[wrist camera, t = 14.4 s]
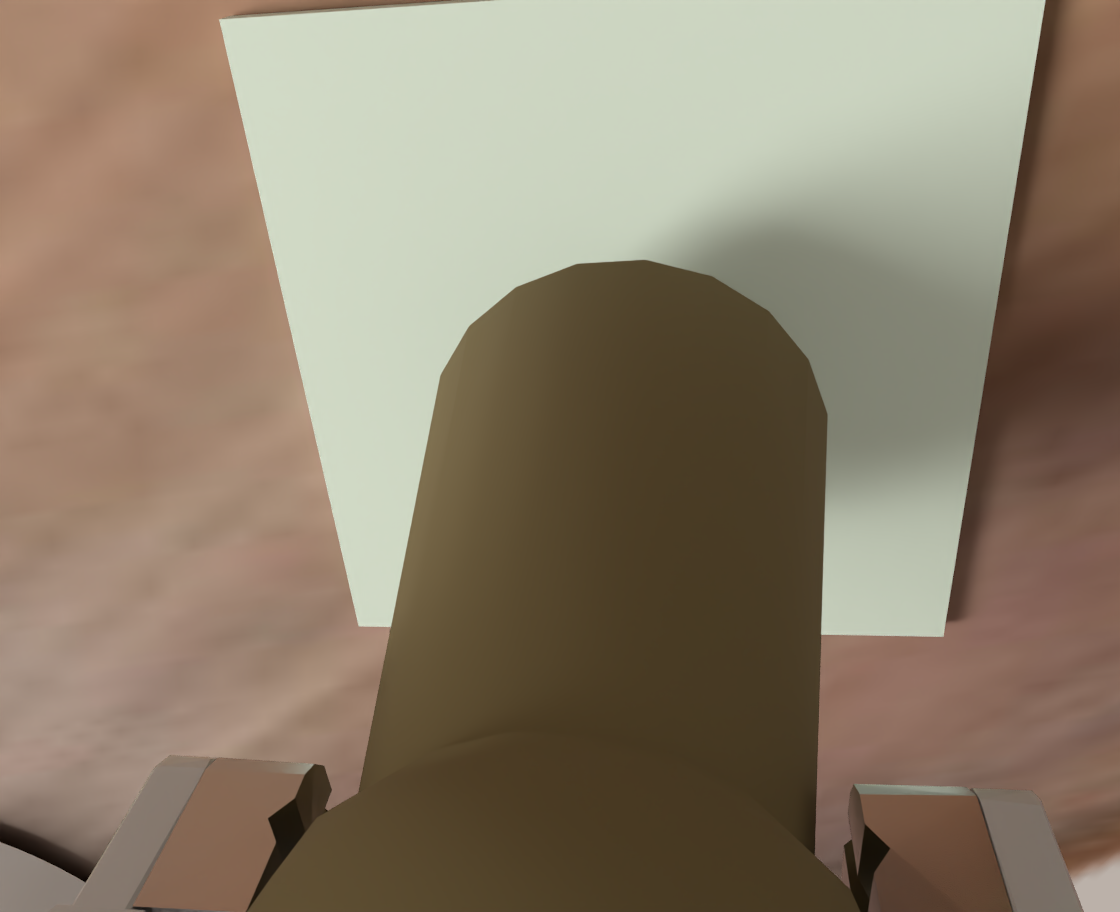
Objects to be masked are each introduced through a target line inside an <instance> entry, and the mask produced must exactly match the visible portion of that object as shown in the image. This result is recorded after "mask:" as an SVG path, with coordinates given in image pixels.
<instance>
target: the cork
mask: <svg viewBox="0 0 1120 912" xmlns="http://www.w3.org/2000/svg"><path fill="white" fill-rule="evenodd" d="M827 421H828V414H827V411H826V408H825V405H824V402H823V399H822V396H821V394H820V391H819V388H818V385H817V382H816V379H815V376H814V373H813V370H812V368H811V365H810V362H809V359H808V358H807V357H806V356H805V354H804V353H803V352H802V351H801V349H800V348H799V347H798V346H797V345H796V343H795V342H794V341H793V340H792V339H791V337H790V336H789V335H788V334H787V332H786V331H785V330H784V329H783V328H782V326H781V325H780V324H779V323H778V321H777V320H776V319H775V318H774V317H773V315H772V314H771V313H770V312H769V311H768V310H766V309H765V308H763V307H761V306H760V305H758V304H757V303H755V302H753V301H752V300H750V299H748V298H747V297H745V296H744V295H742V294H740V293H739V292H737V291H735V290H734V289H732V288H731V287H729V286H727V285H726V284H724V283H722V282H721V281H719V280H718V279H716V278H714V277H713V276H709V275H705V274H701V273H697V272H693V271H689V270H685V269H681V268H677V267H673V266H669V265H665V264H661V263H657V262H653V261H649V260H631V261H614V262H597V263H580V264H575V265H572V266H570V267H567V268H565V269H562V270H559V271H557V272H554V273H552V274H549V275H546V276H544V277H541V278H538V279H536V280H533V281H531V282H528V283H525V284H523V285H520V286H518V287H515V288H514V289H513V290H512V291H511V292H509V293H508V294H507V295H506V296H505V297H503V298H502V299H501V300H500V301H499V302H497V303H496V304H495V305H494V306H493V307H491V308H490V309H489V310H488V311H487V312H485V313H484V314H483V315H482V316H481V317H479V318H478V319H477V320H476V321H475V322H473V323H472V324H471V325H470V326H469V327H468V329H467V330H466V332H465V334H464V335H463V337H462V339H461V341H460V342H459V344H458V346H457V347H456V349H455V351H454V353H453V354H452V356H451V358H450V359H449V361H448V363H447V365H446V366H445V368H444V370H443V371H442V373H441V375H440V379H439V385H438V390H437V395H436V400H435V405H434V410H433V415H432V420H431V425H430V430H429V436H428V441H427V446H426V451H425V456H424V461H423V466H422V471H421V476H420V481H419V487H418V492H417V497H416V502H415V507H414V512H413V517H412V522H411V527H410V532H409V538H408V543H407V548H406V553H405V558H404V563H403V568H402V573H401V578H400V583H399V588H398V594H397V599H396V604H395V609H394V614H393V619H392V624H391V629H390V634H389V639H388V645H387V650H386V655H385V660H384V665H383V670H382V675H381V680H380V685H379V690H378V696H377V701H376V706H375V711H374V716H373V721H372V726H371V731H370V736H369V741H368V747H367V752H366V757H365V762H364V767H363V772H362V777H361V782H360V787H359V792H358V794H356V795H354V796H353V797H351V798H349V799H348V800H346V801H344V802H343V803H341V804H339V805H337V806H336V807H334V808H332V809H331V810H329V811H327V812H326V813H324V814H322V815H320V816H319V817H317V818H316V819H315V821H314V822H313V823H312V824H311V826H310V827H309V828H308V830H307V831H306V832H305V834H304V835H303V836H302V838H301V839H300V840H299V842H298V843H297V844H296V846H295V847H294V848H293V849H292V851H291V852H290V853H289V855H288V856H287V857H286V859H285V860H284V861H283V863H282V864H281V865H280V867H279V868H278V869H277V871H276V872H275V873H274V874H273V876H272V877H271V878H270V880H269V881H268V883H267V884H266V886H265V887H264V888H263V890H262V891H261V893H260V894H259V895H258V897H257V898H256V900H255V901H254V902H253V904H252V905H251V907H250V908H249V910H248V911H247V912H860V910H859V908H858V905H857V903H856V901H855V899H854V897H853V894H852V892H851V890H850V889H849V888H848V887H847V886H846V885H845V884H844V883H843V882H842V881H841V880H840V879H839V878H838V877H837V876H836V875H834V874H833V873H832V872H831V871H830V870H829V869H828V868H827V867H826V866H825V865H824V864H823V863H822V862H821V861H820V860H819V859H818V858H816V857H815V823H816V790H817V756H818V723H819V689H820V656H821V622H822V589H823V555H824V522H825V488H826V455H827Z"/></svg>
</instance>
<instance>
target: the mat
mask: <svg viewBox="0 0 1120 912" xmlns="http://www.w3.org/2000/svg"><path fill="white" fill-rule="evenodd" d="M1044 7H1045V0H452V1H438V2H423V3H409V4H395V5H380V6H366V7H352V8H337V9H323V10H309V11H294V12H280V13H266V14H251V15H237V16H228V17H225V18H222V19H219V20H220V25H221V29H222V33H223V38H224V42H225V47H226V51H227V55H228V60H229V64H230V68H231V73H232V77H233V81H234V86H235V90H236V94H237V99H238V103H239V107H240V112H241V116H242V120H243V125H244V129H245V133H246V138H247V142H248V147H249V151H250V155H251V160H252V164H253V168H254V173H255V177H256V181H257V186H258V190H259V194H260V199H261V203H262V207H263V212H264V216H265V220H266V225H267V229H268V233H269V238H270V242H271V247H272V251H273V255H274V260H275V264H276V268H277V273H278V277H279V281H280V286H281V290H282V294H283V299H284V303H285V307H286V312H287V316H288V320H289V325H290V329H291V334H292V338H293V342H294V347H295V351H296V355H297V360H298V364H299V368H300V373H301V377H302V381H303V386H304V390H305V394H306V399H307V403H308V407H309V412H310V416H311V420H312V425H313V429H314V434H315V438H316V442H317V447H318V451H319V455H320V460H321V464H322V468H323V473H324V477H325V481H326V486H327V490H328V494H329V499H330V503H331V507H332V512H333V516H334V520H335V525H336V529H337V534H338V538H339V542H340V547H341V551H342V555H343V560H344V564H345V568H346V573H347V577H348V581H349V586H350V590H351V594H352V599H353V603H354V607H355V612H356V616H357V620H358V625H359V626H372V627H391V624H392V619H393V614H394V609H395V604H396V599H397V594H398V588H399V583H400V578H401V573H402V568H403V563H404V558H405V553H406V548H407V543H408V538H409V532H410V527H411V522H412V517H413V512H414V507H415V502H416V497H417V492H418V487H419V481H420V476H421V471H422V466H423V461H424V456H425V451H426V446H427V441H428V436H429V430H430V425H431V420H432V415H433V410H434V405H435V400H436V395H437V390H438V385H439V379H440V375H441V373H442V371H443V370H444V368H445V366H446V365H447V363H448V361H449V359H450V358H451V356H452V354H453V353H454V351H455V349H456V347H457V346H458V344H459V342H460V341H461V339H462V337H463V335H464V334H465V332H466V330H467V329H468V327H469V326H470V325H471V324H472V323H473V322H475V321H476V320H477V319H478V318H479V317H481V316H482V315H483V314H484V313H485V312H487V311H488V310H489V309H490V308H491V307H493V306H494V305H495V304H496V303H497V302H499V301H500V300H501V299H502V298H503V297H505V296H506V295H507V294H508V293H509V292H511V291H512V290H513V289H514V288H515V287H518V286H520V285H523V284H525V283H528V282H531V281H533V280H536V279H538V278H541V277H544V276H546V275H549V274H552V273H554V272H557V271H559V270H562V269H565V268H567V267H570V266H572V265H575V264H580V263H597V262H614V261H631V260H649V261H653V262H657V263H661V264H665V265H669V266H673V267H677V268H681V269H685V270H689V271H693V272H697V273H701V274H705V275H709V276H713V277H714V278H716V279H718V280H719V281H721V282H722V283H724V284H726V285H727V286H729V287H731V288H732V289H734V290H735V291H737V292H739V293H740V294H742V295H744V296H745V297H747V298H748V299H750V300H752V301H753V302H755V303H757V304H758V305H760V306H761V307H763V308H765V309H766V310H768V311H769V312H770V313H771V314H772V315H773V317H774V318H775V319H776V320H777V321H778V323H779V324H780V325H781V326H782V328H783V329H784V330H785V331H786V332H787V334H788V335H789V336H790V337H791V339H792V340H793V341H794V342H795V343H796V345H797V346H798V347H799V348H800V349H801V351H802V352H803V353H804V354H805V356H806V357H807V358H808V359H809V362H810V365H811V368H812V370H813V373H814V376H815V379H816V382H817V385H818V388H819V391H820V394H821V396H822V399H823V402H824V405H825V408H826V411H827V414H828V421H827V455H826V488H825V522H824V555H823V589H822V622H821V635H875V636H931V637H943V636H944V630H945V623H946V617H947V611H948V605H949V598H950V592H951V586H952V580H953V574H954V567H955V561H956V555H957V549H958V542H959V536H960V530H961V524H962V517H963V511H964V505H965V499H966V493H967V486H968V480H969V474H970V468H971V461H972V455H973V449H974V443H975V436H976V430H977V424H978V418H979V412H980V405H981V399H982V393H983V387H984V380H985V374H986V368H987V362H988V355H989V349H990V343H991V337H992V331H993V324H994V318H995V312H996V306H997V299H998V293H999V287H1000V281H1001V274H1002V268H1003V262H1004V256H1005V250H1006V243H1007V237H1008V231H1009V225H1010V218H1011V212H1012V206H1013V200H1014V193H1015V187H1016V181H1017V175H1018V169H1019V162H1020V156H1021V150H1022V144H1023V137H1024V131H1025V125H1026V119H1027V112H1028V106H1029V100H1030V94H1031V88H1032V81H1033V75H1034V69H1035V63H1036V56H1037V50H1038V44H1039V38H1040V31H1041V25H1042V19H1043V13H1044Z"/></svg>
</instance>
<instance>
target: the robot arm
mask: <svg viewBox="0 0 1120 912" xmlns="http://www.w3.org/2000/svg"><path fill="white" fill-rule="evenodd" d="M331 790H332V789H331V786H330V783H329V780H328V777H327V774H326V771H325V767H324V766H322V765H316V764H306V763H291V762H276V761H262V760H247V759H232V758H210V757H193V756H175V755H169V756H168V757H167V758H166V759H164V760H163V761H162V762H161V763H159V764H158V765H157V766H156V767H155V768H154V769H153V771H152V772H151V774H150V776H149V777H148V779H147V781H146V782H145V784H144V786H143V787H142V789H141V791H140V792H139V794H138V796H137V797H136V799H135V801H134V802H133V804H132V806H131V808H130V809H129V811H128V813H127V814H126V816H125V818H124V819H123V821H122V823H121V824H120V826H119V828H118V829H117V831H116V833H115V834H114V836H113V838H112V839H111V841H110V843H109V844H108V846H107V848H106V849H105V851H104V853H103V854H102V856H101V858H100V859H99V861H98V863H97V864H96V866H95V868H94V870H93V871H92V873H91V875H90V876H89V878H88V880H87V881H86V883H85V882H84V881H82V880H80V879H79V878H77V877H75V876H73V875H71V874H69V873H68V872H66V871H64V870H62V869H60V868H58V867H56V866H54V865H52V864H50V863H48V862H46V861H44V860H42V859H40V858H37V857H35V856H33V855H31V854H28V853H26V852H24V851H21V850H19V849H17V848H14V847H11V846H9V845H6V844H4V843H1V842H0V912H247V911H248V910H249V908H250V907H251V905H252V904H253V902H254V901H255V900H256V898H257V897H258V895H259V894H260V893H261V891H262V890H263V888H264V887H265V886H266V884H267V883H268V881H269V880H270V878H271V877H272V876H273V874H274V873H275V872H276V871H277V869H278V868H279V867H280V865H281V864H282V863H283V861H284V860H285V859H286V857H287V856H288V855H289V853H290V852H291V851H292V849H293V848H294V847H295V846H296V844H297V843H298V842H299V840H300V839H301V838H302V836H303V835H304V834H305V832H306V831H307V830H308V828H309V827H310V826H311V824H312V823H313V822H314V821H315V819H316V818H317V817H319V816H320V815H322V814H324V813H326V812H327V810H326V809H325V806H326V804H327V801H328V798H329V796H330V793H331ZM848 817H849V824H850V830H851V836H852V840H850V841H849V842H848V843H847V844H845V845H844V850H843V862H842V882H843V883H844V884H845V885H846V886H847V887H848V888H849V889H850V890H851V892H852V894H853V897H854V899H855V901H856V903H857V905H858V908H859V910H860V912H1084V911H1083V909H1082V906H1081V904H1080V901H1079V898H1078V896H1077V893H1076V890H1075V888H1074V885H1073V883H1072V880H1071V877H1070V875H1069V872H1068V869H1067V867H1066V864H1065V862H1064V859H1063V856H1062V854H1061V851H1060V848H1059V846H1058V843H1057V841H1056V838H1055V835H1054V833H1053V830H1052V828H1051V825H1050V822H1049V820H1048V817H1047V814H1046V812H1045V809H1044V807H1043V804H1042V801H1041V800H1040V799H1039V798H1038V797H1037V796H1036V794H1035V793H1034V792H1033V791H1030V790H1004V789H978V788H972V789H970V790H969V789H968V788H967V787H942V786H906V785H870V784H854V785H853V787H852V790H851V792H850V799H849V806H848Z"/></svg>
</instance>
